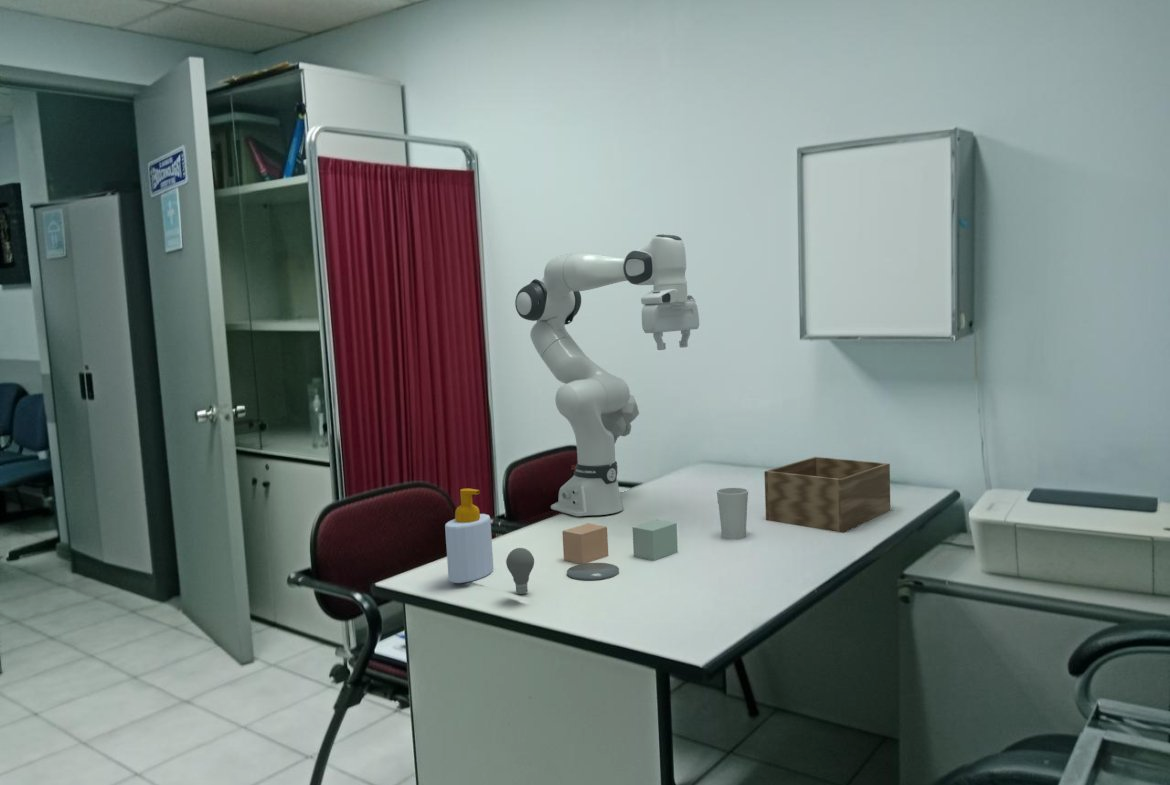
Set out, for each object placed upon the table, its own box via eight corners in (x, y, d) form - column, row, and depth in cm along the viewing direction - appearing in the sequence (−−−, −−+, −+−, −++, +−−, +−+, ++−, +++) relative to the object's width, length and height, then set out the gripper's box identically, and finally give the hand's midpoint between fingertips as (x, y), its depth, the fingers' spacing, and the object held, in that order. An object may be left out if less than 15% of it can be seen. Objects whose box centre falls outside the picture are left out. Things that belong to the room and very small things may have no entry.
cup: (749, 540, 232) (747, 494, 231) (717, 540, 233) (715, 494, 232) (750, 532, 240) (748, 487, 238) (719, 532, 241) (717, 487, 240)
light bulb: (508, 590, 201) (505, 545, 200) (535, 588, 202) (533, 543, 201) (508, 598, 195) (505, 552, 194) (536, 596, 196) (533, 550, 195)
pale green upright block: (633, 556, 223) (632, 527, 222) (657, 548, 229) (656, 519, 228) (653, 560, 218) (652, 530, 218) (677, 552, 225) (676, 523, 224)
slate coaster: (556, 574, 211) (555, 572, 211) (592, 562, 219) (592, 559, 219) (593, 583, 203) (593, 581, 203) (629, 570, 211) (629, 568, 211)
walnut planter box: (765, 522, 250) (764, 471, 248) (815, 504, 268) (814, 456, 267) (842, 534, 233) (841, 480, 232) (890, 514, 252) (889, 463, 250)
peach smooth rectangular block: (563, 559, 223) (562, 530, 222) (589, 551, 229) (588, 523, 228) (582, 564, 218) (581, 534, 218) (608, 555, 225) (607, 526, 224)
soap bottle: (466, 585, 206) (461, 496, 204) (439, 581, 210) (433, 494, 208) (502, 569, 217) (497, 485, 215) (475, 565, 221) (470, 483, 220)
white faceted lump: (635, 508, 285) (647, 396, 287) (618, 509, 271) (630, 391, 272) (578, 500, 293) (590, 391, 294) (558, 501, 278) (570, 386, 280)
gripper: (685, 295, 252) (687, 345, 253) (636, 297, 237) (639, 351, 239) (703, 294, 248) (705, 345, 249) (655, 296, 233) (657, 351, 234)
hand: (672, 348), depth 244 cm, fingers open, 8 cm apart
